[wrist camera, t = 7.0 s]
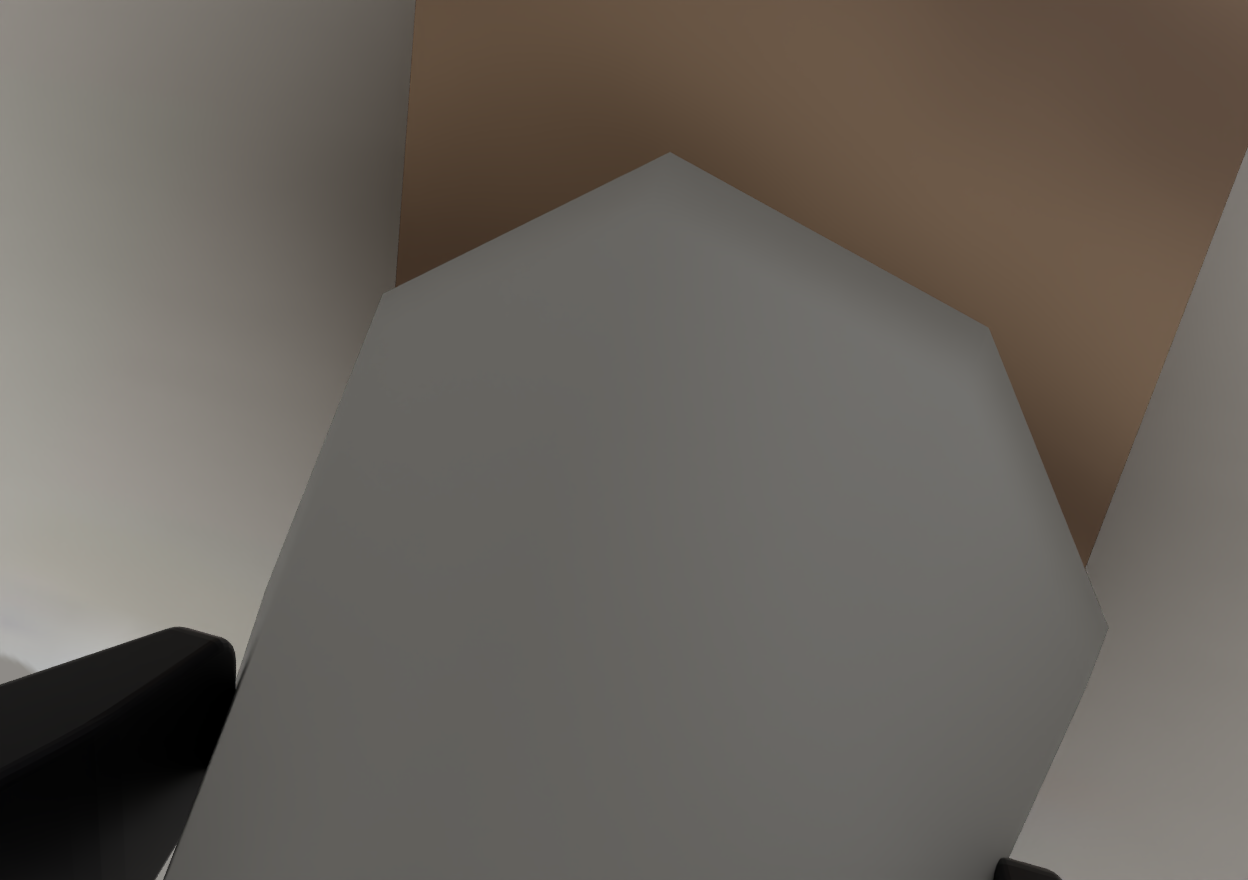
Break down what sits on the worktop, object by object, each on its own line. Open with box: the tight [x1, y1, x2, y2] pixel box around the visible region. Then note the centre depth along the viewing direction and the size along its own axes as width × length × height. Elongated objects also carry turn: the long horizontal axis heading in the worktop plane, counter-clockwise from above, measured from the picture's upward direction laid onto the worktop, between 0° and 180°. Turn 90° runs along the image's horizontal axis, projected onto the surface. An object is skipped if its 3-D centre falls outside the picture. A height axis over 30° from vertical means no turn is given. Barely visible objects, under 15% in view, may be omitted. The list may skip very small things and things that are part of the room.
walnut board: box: [395, 0, 1248, 568], centre depth 18 cm, size 18×12×1 cm, turn 171°
